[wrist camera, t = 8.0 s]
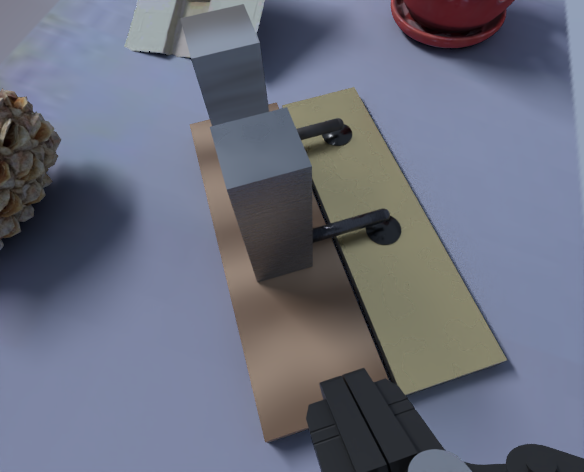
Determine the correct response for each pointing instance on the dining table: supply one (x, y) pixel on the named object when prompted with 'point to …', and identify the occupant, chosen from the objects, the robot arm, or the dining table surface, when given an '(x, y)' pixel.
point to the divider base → (239, 273)
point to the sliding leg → (275, 193)
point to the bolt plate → (393, 252)
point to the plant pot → (449, 20)
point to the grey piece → (176, 22)
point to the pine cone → (22, 160)
